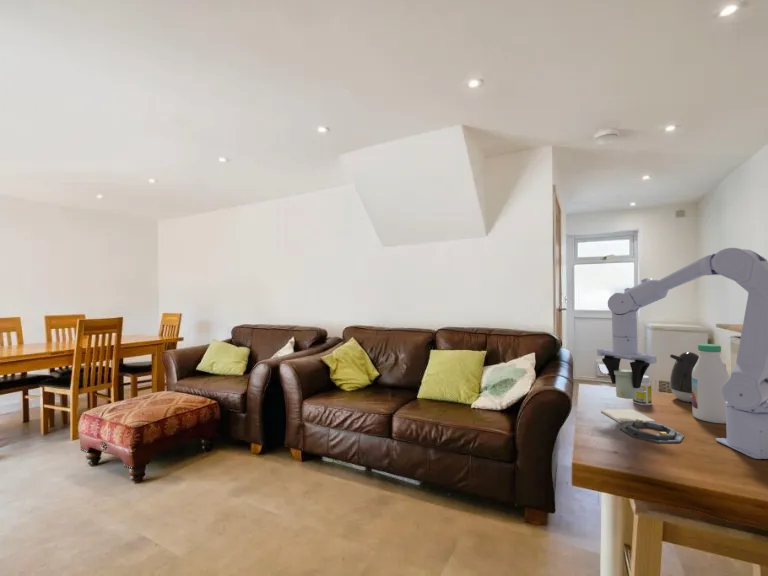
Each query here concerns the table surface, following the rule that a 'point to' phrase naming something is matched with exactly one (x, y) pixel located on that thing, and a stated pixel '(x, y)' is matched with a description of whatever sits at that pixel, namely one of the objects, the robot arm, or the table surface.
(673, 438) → the bayonet collar
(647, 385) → the supplement bottle
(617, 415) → the plate
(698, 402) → the milk bottle
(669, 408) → the table surface
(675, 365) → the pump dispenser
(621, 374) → the pale green jar
